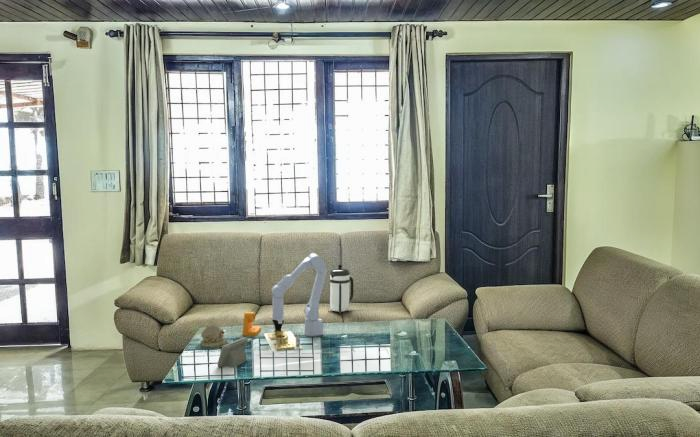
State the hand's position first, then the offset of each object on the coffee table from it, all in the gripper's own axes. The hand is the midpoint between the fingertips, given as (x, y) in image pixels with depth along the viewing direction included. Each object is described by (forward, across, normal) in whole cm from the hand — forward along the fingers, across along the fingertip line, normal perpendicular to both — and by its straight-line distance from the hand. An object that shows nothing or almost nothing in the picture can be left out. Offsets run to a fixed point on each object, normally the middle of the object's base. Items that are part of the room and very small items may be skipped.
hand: (278, 333), depth 273 cm
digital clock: (+3, +28, -26) cm, 39 cm away
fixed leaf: (+2, +14, 0) cm, 14 cm away
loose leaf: (+2, 0, 0) cm, 2 cm away
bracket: (+3, -11, -12) cm, 17 cm away
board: (+3, +7, +1) cm, 7 cm away
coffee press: (+3, -41, +47) cm, 62 cm away
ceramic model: (+3, -1, -33) cm, 33 cm away
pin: (+2, +17, +7) cm, 18 cm away
